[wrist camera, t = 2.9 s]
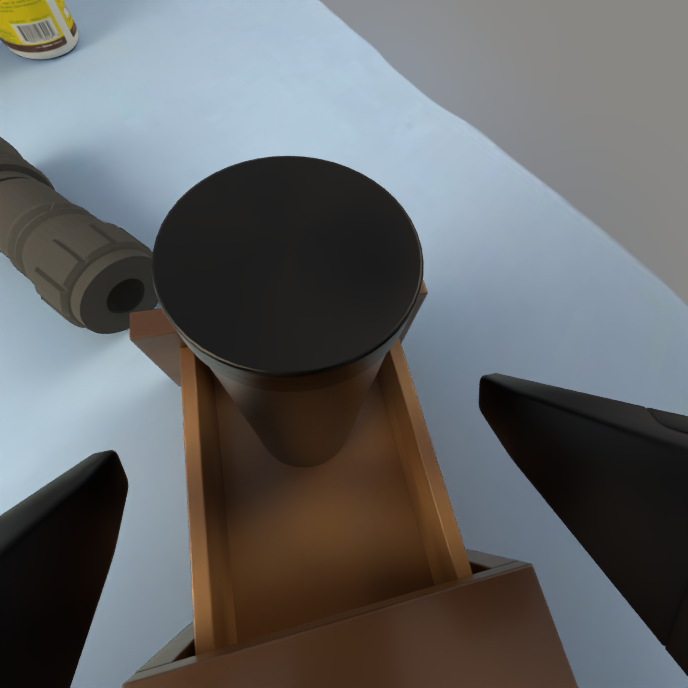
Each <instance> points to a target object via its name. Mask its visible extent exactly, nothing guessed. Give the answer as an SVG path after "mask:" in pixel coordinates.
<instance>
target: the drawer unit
mask: <svg viewBox="0 0 688 688" xmlns="http://www.w3.org/2000/svg"><path fill="white" fill-rule="evenodd" d="M465 551H466V554H467V557H468V561H469V564H470V567H471V570H472V573H473V575H469V576H466V577H462V578H459V579H456V580H452V581H449V582H445V583H442V584H439V585H435V586H432V587H428V588H425V589H421V590H418V591H415V592H411V593H408V594H404V595H401V596H398V597H394V598H391V599H387V600H384V601H381V602H377V603H374V604H370V605H367V606H363V607H360V608H357V609H353V610H350V611H346V612H343V613H340V614H336V615H333V616H329V617H326V618H322V619H319V620H316V621H312V622H309V623H305V624H302V625H299V626H295V627H292V628H288V629H285V630H282V631H278V632H275V633H271V634H268V635H264V636H261V637H258V638H254V639H251V640H247V641H244V642H241V643H237V644H234V645H230V646H227V647H224V648H220V649H217V650H213V651H210V652H206V653H203V654H200V655H196V656H195V639H194V621H193V622H192V623H191V624H190V625H188V626H187V627H186V628H185V629H183V630H182V631H181V632H180V633H179V634H178V635H177V636H176V637H175V638H173V639H172V640H171V641H170V642H169V643H168V644H167V645H166V646H165V647H163V648H162V649H161V650H160V651H159V652H158V653H157V654H156V655H155V656H153V657H152V658H151V659H150V660H149V661H148V662H147V663H146V664H145V665H143V666H142V667H141V668H140V669H139V670H138V671H137V672H136V673H135V674H134V675H133V676H132V677H131V678H130V679H128V680H127V681H126V682H125V683H124V684H123V686H122V688H578V686H577V684H576V681H575V678H574V676H573V673H572V670H571V668H570V665H569V662H568V659H567V657H566V654H565V651H564V649H563V646H562V643H561V641H560V638H559V635H558V633H557V630H556V627H555V624H554V622H553V619H552V616H551V614H550V611H549V608H548V606H547V603H546V600H545V597H544V595H543V592H542V589H541V587H540V584H539V581H538V579H537V576H536V573H535V571H534V568H533V566H532V564H530V563H526V562H521V561H517V560H513V559H508V558H504V557H500V556H495V555H491V554H486V553H482V552H478V551H473V550H469V549H465Z"/></svg>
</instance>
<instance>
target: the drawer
mask: <svg viewBox="0 0 688 688" xmlns="http://www.w3.org/2000/svg"><path fill="white" fill-rule="evenodd" d="M427 293H428V292H427V289H426V286H425V284H424V281H423V280H422V286H421V291H420V294H419V297H418V299H417V302H416V305H415V307H414V309H413V311H412V313H411V315H410V317H409V319H408V321H407V323H406V325H405V327H404V329H403V331H402V333H401V334H400V336H399V338H398V339H397V341H396V342H395V343H394V345H393V346H392V347H391V349H390V350H389V351H388V352H387V353H386V355H385V357H384V360H383V362H382V364H381V366H380V368H379V370H378V372H377V375H376V377H375V379H374V381H373V383H372V385H371V388H370V390H369V392H368V394H367V396H366V398H365V400H364V403H363V405H362V407H361V409H360V411H359V413H358V416H357V418H356V420H355V422H354V424H353V426H352V428H351V431H350V433H349V435H348V437H347V439H346V441H345V443H344V445H343V446H342V448H341V449H340V450H339V451H338V452H337V453H336V455H334V456H333V457H332V458H331V459H329V460H327V461H326V462H324V463H321V464H319V465H316V466H311V467H295V466H291V465H288V464H285V463H283V462H281V461H279V460H278V459H276V458H275V457H274V456H273V455H272V454H271V453H270V452H269V451H268V450H267V449H266V447H265V446H264V444H263V443H262V441H261V440H260V439H259V437H258V436H257V434H256V433H255V431H254V430H253V428H252V427H251V426H250V424H249V423H248V421H247V420H246V418H245V417H244V416H243V414H242V413H241V411H240V410H239V408H238V407H237V405H236V404H235V403H234V401H233V400H232V398H231V397H230V395H229V394H228V393H227V391H226V390H225V388H224V387H223V385H222V384H221V382H220V381H219V380H218V378H217V377H216V375H215V374H214V372H213V371H212V370H211V368H210V367H209V366H208V365H206V364H205V363H204V362H203V361H201V360H200V359H199V358H198V357H197V356H196V355H195V354H194V353H193V352H192V350H191V349H190V348H189V347H188V346H187V344H186V343H185V342H184V340H183V339H182V338H181V336H180V335H179V334H178V332H177V331H176V330H175V328H174V327H173V325H172V324H171V323H170V321H169V320H168V318H167V317H166V315H165V314H164V312H163V310H162V308H160V309H154V310H147V311H140V312H133V313H130V340H131V341H132V342H133V343H134V344H135V345H136V346H137V347H138V348H139V349H140V350H141V351H142V352H143V353H145V354H146V355H147V356H148V357H149V358H150V359H151V360H152V361H153V362H154V363H155V364H156V365H157V366H158V367H159V368H160V369H161V370H162V371H163V372H164V373H165V374H166V375H167V376H169V377H170V378H171V379H172V380H173V381H174V382H175V383H176V384H177V385H178V386H179V387H181V386H182V406H183V425H184V445H185V464H186V483H187V503H188V522H189V542H190V561H191V580H192V600H193V619H194V639H195V656H196V655H200V654H203V653H206V652H210V651H213V650H217V649H220V648H224V647H227V646H230V645H234V644H237V643H241V642H244V641H247V640H251V639H254V638H258V637H261V636H264V635H268V634H271V633H275V632H278V631H282V630H285V629H288V628H292V627H295V626H299V625H302V624H305V623H309V622H312V621H316V620H319V619H322V618H326V617H329V616H333V615H336V614H340V613H343V612H346V611H350V610H353V609H357V608H360V607H363V606H367V605H370V604H374V603H377V602H381V601H384V600H387V599H391V598H394V597H398V596H401V595H404V594H408V593H411V592H415V591H418V590H421V589H425V588H428V587H432V586H435V585H439V584H442V583H445V582H449V581H452V580H456V579H459V578H462V577H466V576H469V575H473V573H472V570H471V567H470V564H469V561H468V557H467V554H466V551H465V548H464V545H463V541H462V538H461V535H460V532H459V529H458V525H457V522H456V519H455V516H454V513H453V509H452V506H451V503H450V500H449V497H448V493H447V490H446V487H445V484H444V481H443V477H442V474H441V471H440V468H439V465H438V461H437V458H436V455H435V452H434V449H433V445H432V442H431V439H430V436H429V433H428V429H427V426H426V423H425V420H424V417H423V413H422V410H421V407H420V404H419V401H418V397H417V394H416V391H415V388H414V385H413V381H412V378H411V375H410V372H409V369H408V365H407V362H406V359H405V356H404V353H403V349H402V346H401V343H402V341H403V339H404V337H405V335H406V333H407V332H408V330H409V328H410V326H411V324H412V322H413V320H414V318H415V316H416V314H417V313H418V311H419V309H420V307H421V305H422V303H423V301H424V299H425V297H426V295H427Z"/></svg>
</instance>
